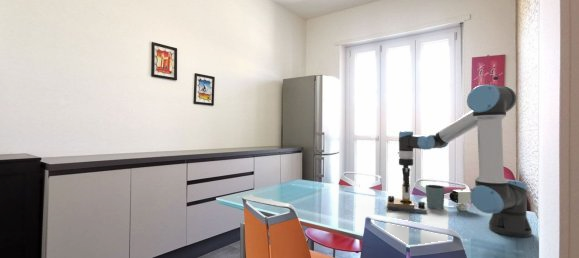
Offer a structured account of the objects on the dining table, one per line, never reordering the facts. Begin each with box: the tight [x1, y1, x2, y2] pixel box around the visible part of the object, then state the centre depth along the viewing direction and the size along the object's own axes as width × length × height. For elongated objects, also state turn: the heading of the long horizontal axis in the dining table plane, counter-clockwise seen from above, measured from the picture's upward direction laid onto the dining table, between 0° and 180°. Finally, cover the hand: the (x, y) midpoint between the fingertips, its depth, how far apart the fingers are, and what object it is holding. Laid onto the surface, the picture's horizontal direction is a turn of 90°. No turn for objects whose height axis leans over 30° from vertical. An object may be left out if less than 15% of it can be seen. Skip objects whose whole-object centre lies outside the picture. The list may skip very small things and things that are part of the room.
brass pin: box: [401, 183, 411, 204], centre depth 160 cm, size 4×4×14 cm
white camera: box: [449, 188, 473, 212], centre depth 157 cm, size 6×12×12 cm, turn 94°
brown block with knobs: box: [386, 195, 428, 215], centre depth 160 cm, size 12×20×6 cm, turn 70°
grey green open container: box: [425, 184, 446, 210], centre depth 163 cm, size 10×10×12 cm
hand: (406, 195), depth 160 cm, fingers open, 13 cm apart
